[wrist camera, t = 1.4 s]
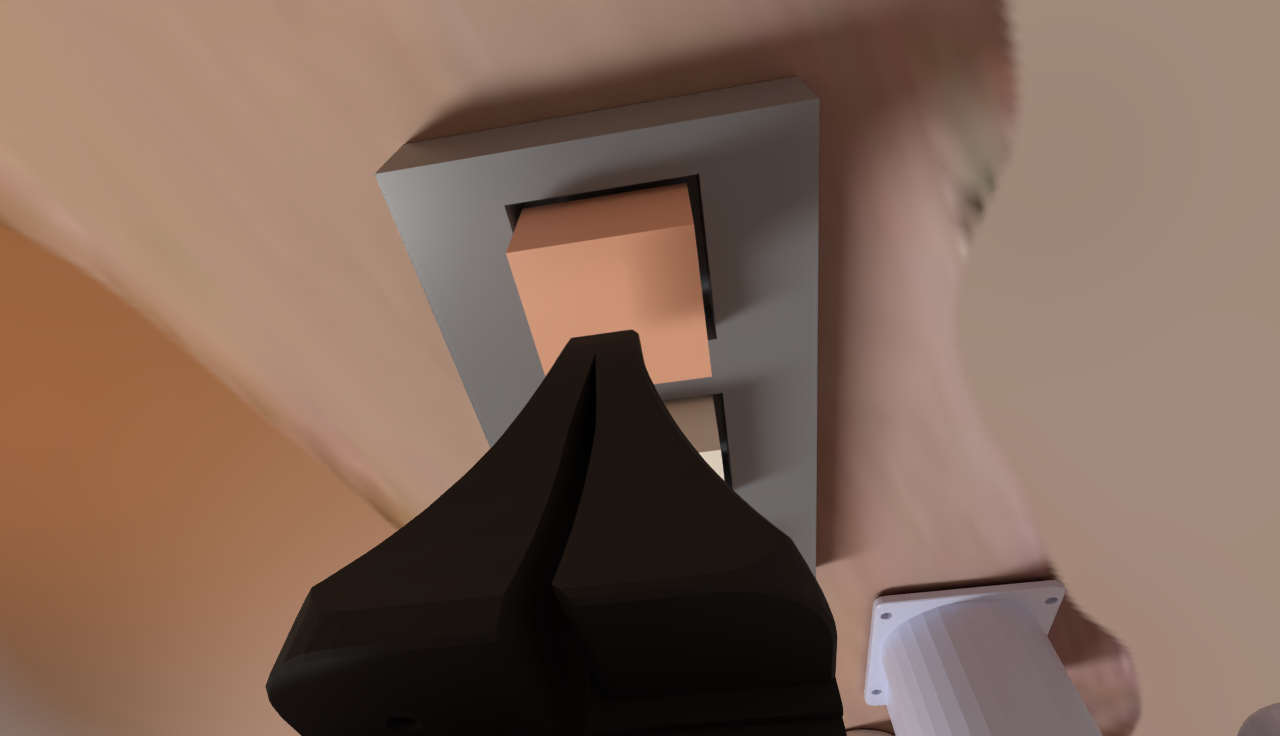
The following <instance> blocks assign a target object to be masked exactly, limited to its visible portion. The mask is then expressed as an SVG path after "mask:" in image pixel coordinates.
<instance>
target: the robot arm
mask: <svg viewBox="0 0 1280 736" xmlns="http://www.w3.org/2000/svg"><path fill="white" fill-rule="evenodd" d="M1065 591H1066V589H1065V588H1064V586H1063V585H1062V583H1061V582H1060V581H1057V580H1046V581H1036V582H1025V583H1015V584H1004V585H994V586H983V587H973V588H962V589H952V590H941V591H931V592H920V593H910V594H899V595H888V596H882V597H879V598H877V599H876V600H875V601H874V603H873V612H872V621H871V631H870V640H869V650H868V660H867V669H866V679H865V688H864V698H865V701H866V703H867V704H868V705H872V706H875V705H886V706H887V709H888V712H889V716H890V719H891V722H892V725H893V728H894V732H895V735H896V736H1103V735H1102V733H1101V731H1100V730H1099V728H1098V726H1097V724H1096V723H1095V721H1094V719H1093V717H1092V715H1091V714H1090V712H1089V710H1088V708H1087V707H1086V705H1085V703H1084V701H1083V699H1082V698H1081V696H1080V694H1079V692H1078V690H1077V689H1076V687H1075V685H1074V683H1073V682H1072V680H1071V678H1070V676H1069V674H1068V673H1067V671H1066V669H1065V667H1064V665H1063V664H1062V662H1061V660H1060V658H1059V657H1058V655H1057V653H1056V651H1055V649H1054V648H1053V646H1052V644H1051V642H1050V640H1049V639H1048V637H1047V635H1048V633H1049V630H1050V628H1051V626H1052V623H1053V621H1054V618H1055V616H1056V614H1057V611H1058V609H1059V606H1060V604H1061V602H1062V599H1063V597H1064V594H1065ZM836 651H837V632H836V626H835V621H834V618H833V615H832V613H831V610H830V608H829V605H828V603H827V601H826V598H825V596H824V594H823V592H822V590H821V588H820V586H819V584H818V582H817V580H816V578H815V577H814V575H813V573H812V571H811V570H810V568H809V566H808V564H807V563H806V561H805V560H804V558H803V556H802V555H801V553H800V552H799V550H798V548H797V547H796V545H795V544H794V542H793V540H792V539H791V538H790V537H789V536H788V535H786V534H785V533H784V532H782V531H781V530H780V529H778V528H777V527H776V526H774V525H773V524H772V523H771V522H769V521H768V520H767V519H766V518H764V517H763V516H762V515H761V514H760V513H758V512H757V511H756V510H755V509H754V508H753V507H751V506H750V505H749V504H748V503H747V502H746V501H745V500H744V499H742V498H741V497H740V496H739V495H738V494H737V493H736V492H735V491H734V490H733V489H732V488H731V487H730V486H729V485H728V484H727V483H726V482H725V481H724V480H723V479H722V478H721V477H720V476H719V475H718V474H717V473H716V472H715V471H714V470H713V469H712V468H711V466H710V465H709V464H708V463H707V462H706V461H705V460H704V459H703V457H702V456H701V455H700V454H699V453H698V451H697V450H696V449H695V448H694V446H693V445H692V444H691V443H690V441H689V440H688V439H687V437H686V436H685V435H684V433H683V432H682V431H681V429H680V428H679V426H678V425H677V423H676V422H675V420H674V419H673V417H672V416H671V414H670V412H669V411H668V409H667V408H666V406H665V404H664V403H663V401H662V399H661V397H660V396H659V394H658V392H657V390H656V388H655V386H654V384H653V382H652V380H651V378H650V376H649V374H648V371H647V369H646V366H645V363H644V358H643V353H642V348H641V342H640V337H639V334H638V333H637V332H636V331H634V330H633V329H631V330H624V331H616V332H609V333H602V334H595V335H588V336H581V337H574V338H571V339H570V340H569V341H568V342H567V344H566V345H565V347H564V348H563V350H562V352H561V353H560V355H559V356H558V358H557V359H556V361H555V363H554V364H553V366H552V367H551V369H550V370H549V372H548V373H547V375H546V376H545V378H544V379H543V381H542V382H541V384H540V385H539V387H538V388H537V390H536V391H535V392H534V394H533V395H532V397H531V398H530V400H529V401H528V402H527V404H526V405H525V407H524V408H523V409H522V411H521V412H520V413H519V414H518V416H517V417H516V418H515V419H514V421H513V422H512V423H511V425H510V426H509V427H508V428H507V430H506V431H505V432H504V433H503V435H502V436H501V437H500V438H499V439H498V441H497V442H496V443H495V444H494V445H493V446H492V447H491V449H490V450H489V451H488V452H487V453H486V454H485V455H484V456H483V457H482V458H481V459H480V460H479V461H478V462H477V463H476V464H475V465H474V466H473V467H472V468H471V469H470V470H469V471H468V472H467V473H466V474H465V475H464V476H463V477H462V478H461V479H460V480H458V481H457V482H456V483H455V484H454V485H453V486H452V487H451V488H449V489H448V490H447V491H446V492H445V493H444V494H443V495H441V496H440V497H439V498H438V499H437V500H436V501H435V502H434V503H432V504H431V505H430V506H429V507H428V508H427V509H425V510H424V511H423V512H422V513H420V514H419V515H418V516H416V517H415V518H414V519H413V520H411V521H410V522H409V523H408V524H406V525H405V526H404V527H402V528H401V529H400V530H398V531H397V532H395V533H394V534H393V535H391V536H390V537H389V538H387V539H386V540H385V541H383V542H382V543H380V544H379V545H377V546H376V547H375V548H373V549H372V550H370V551H369V552H367V553H366V554H364V555H363V556H361V557H360V558H358V559H356V560H355V561H354V562H352V563H350V564H348V565H347V566H345V567H344V568H342V569H341V570H339V571H338V572H336V573H335V574H333V575H331V576H330V577H328V578H327V579H325V580H323V581H322V582H320V583H318V584H317V585H315V586H313V587H312V588H311V590H310V592H309V594H308V595H307V597H306V599H305V601H304V603H303V605H302V607H301V609H300V611H299V613H298V615H297V617H296V619H295V621H294V624H293V626H292V628H291V630H290V632H289V634H288V637H287V639H286V641H285V643H284V645H283V647H282V650H281V652H280V654H279V656H278V658H277V660H276V662H275V664H274V667H273V669H272V671H271V673H270V676H269V678H268V681H267V684H266V690H267V693H268V698H269V701H270V703H271V704H272V706H273V707H274V709H275V710H276V711H277V712H278V713H279V715H280V716H281V717H282V718H283V719H284V720H285V721H286V722H287V723H288V724H289V725H291V727H293V728H294V729H295V730H296V731H297V732H298V733H299V734H300V735H301V736H847V734H846V730H845V726H844V722H843V718H842V716H843V706H842V701H841V697H840V693H839V689H838V686H837V682H836V678H835V672H836ZM1237 736H1280V703H1275V704H1272V705H1270V706H1267V707H1264V708H1261V709H1259V710H1258V711H1256V712H1255V713H1253V714H1252V715H1250V716H1249V717H1248V718H1247V719H1246V720H1245V722H1244V723H1243V725H1242V726H1241V728H1240V730H1239V732H1238V735H1237Z"/></svg>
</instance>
